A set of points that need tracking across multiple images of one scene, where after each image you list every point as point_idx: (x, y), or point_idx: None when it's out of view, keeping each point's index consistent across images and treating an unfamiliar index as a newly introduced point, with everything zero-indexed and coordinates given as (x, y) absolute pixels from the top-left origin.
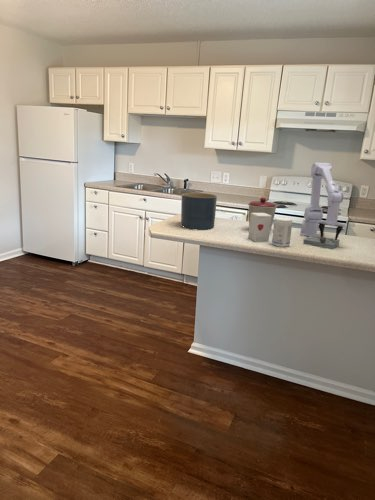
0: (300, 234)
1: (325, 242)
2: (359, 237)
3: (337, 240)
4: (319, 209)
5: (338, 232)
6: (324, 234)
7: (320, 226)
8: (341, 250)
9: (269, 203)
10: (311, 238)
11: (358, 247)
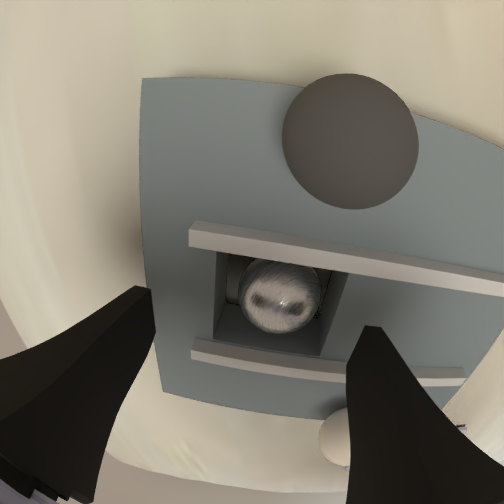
0: (465, 427)
1: None
2: (150, 469)
3: (168, 362)
4: None
5: (29, 355)
6: (321, 437)
7: (485, 489)
8: (83, 110)
9: None
10: (491, 276)
11: (47, 318)
